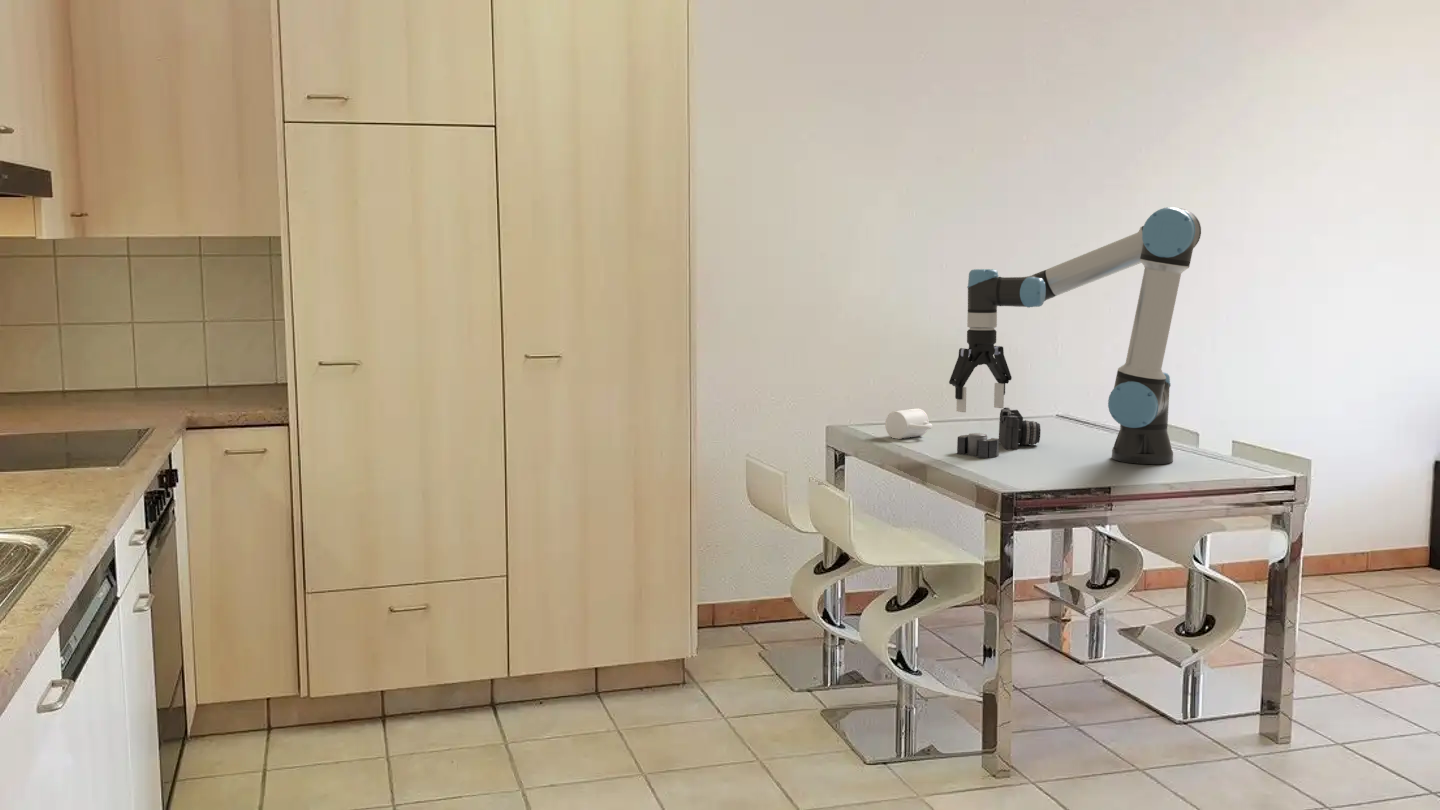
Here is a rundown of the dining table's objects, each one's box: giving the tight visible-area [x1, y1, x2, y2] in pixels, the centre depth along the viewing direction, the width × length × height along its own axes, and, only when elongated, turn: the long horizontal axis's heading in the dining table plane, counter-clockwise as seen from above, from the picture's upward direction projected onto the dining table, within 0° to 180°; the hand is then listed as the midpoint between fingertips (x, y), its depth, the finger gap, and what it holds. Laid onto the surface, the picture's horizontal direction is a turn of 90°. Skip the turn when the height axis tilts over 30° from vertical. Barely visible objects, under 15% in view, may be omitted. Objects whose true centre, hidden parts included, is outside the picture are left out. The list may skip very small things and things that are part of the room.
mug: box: [884, 408, 933, 440], centre depth 375 cm, size 12×10×8 cm
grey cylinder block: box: [966, 432, 988, 457], centre depth 349 cm, size 5×5×5 cm
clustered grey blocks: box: [956, 434, 1000, 459], centre depth 349 cm, size 11×7×4 cm
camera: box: [998, 407, 1041, 451], centre depth 364 cm, size 14×11×10 cm
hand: (980, 409), depth 347 cm, fingers open, 13 cm apart
